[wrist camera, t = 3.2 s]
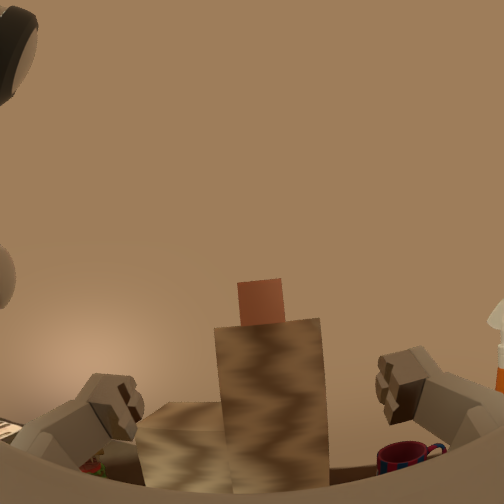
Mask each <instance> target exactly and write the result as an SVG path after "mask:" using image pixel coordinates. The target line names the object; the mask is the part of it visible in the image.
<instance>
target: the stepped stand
mask: <svg viewBox="0 0 504 504" xmlns="http://www.w3.org/2000/svg"><path fill="white" fill-rule="evenodd" d="M214 335H215V347H216V356H217V368H218V377H219V387H220V396H221V402H168V403H167V404H165V405H164V406H163V407H161V408H160V409H158V410H157V411H155V412H154V413H152V414H151V415H149V416H148V417H146V418H145V419H143V420H142V421H140V422H139V423H137V424H136V425H137V427H138V429H137V432H136V434H135V441H136V446H137V451H138V455H139V460H140V464H141V468H142V473H143V477H144V481H145V485H146V487H152V488H159V489H167V490H175V491H185V492H198V493H219V494H253V493H274V492H286V491H296V490H305V489H313V488H320V487H326V486H329V442H328V420H327V402H326V386H325V373H324V361H323V349H322V337H321V327H320V318H312V319H303V320H295V321H287V322H282V323H273V324H263V325H252V326H232V327H221V328H214Z"/></svg>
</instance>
